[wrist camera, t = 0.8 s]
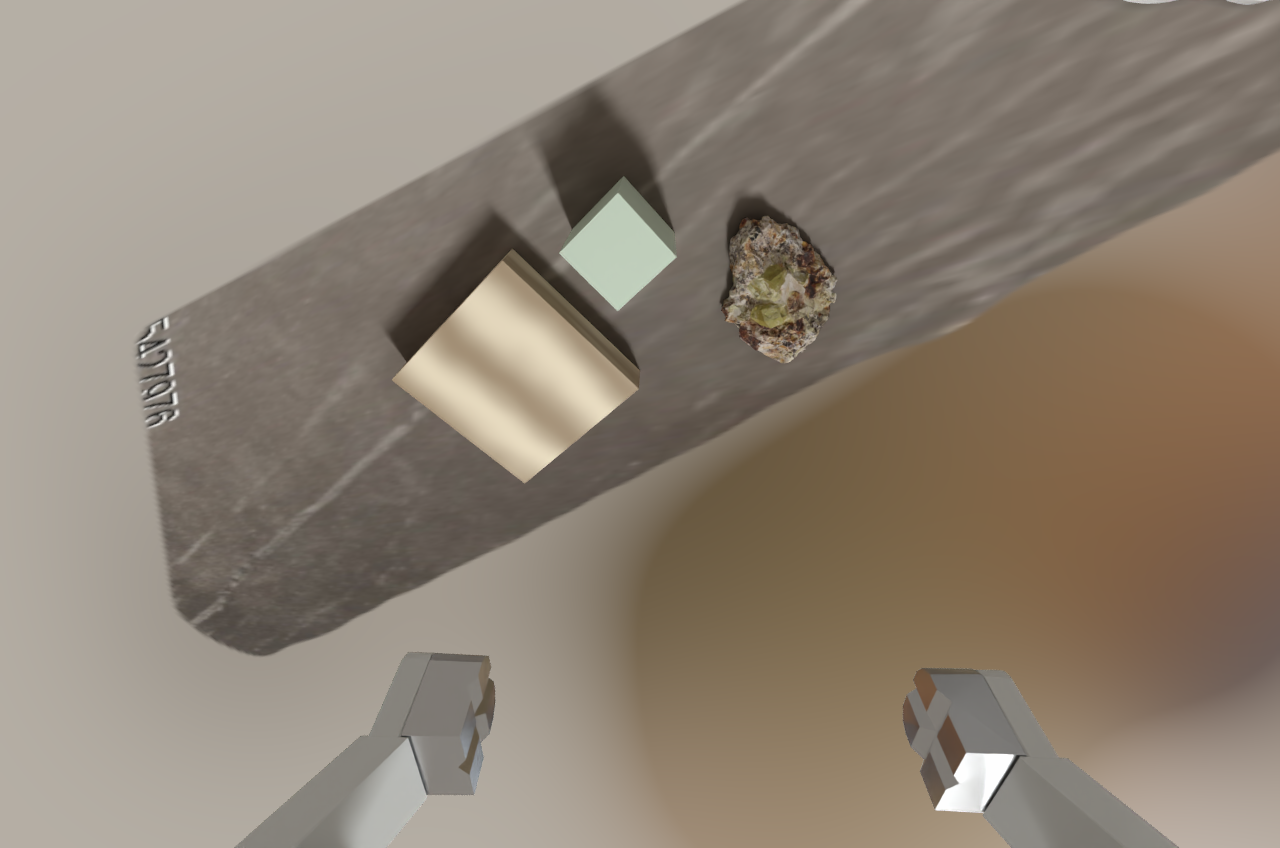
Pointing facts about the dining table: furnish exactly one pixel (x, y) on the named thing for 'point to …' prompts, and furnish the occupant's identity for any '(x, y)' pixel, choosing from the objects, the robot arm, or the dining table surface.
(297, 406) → the dining table surface
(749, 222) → the mineral rock
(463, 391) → the birch plinth
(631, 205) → the sage block
